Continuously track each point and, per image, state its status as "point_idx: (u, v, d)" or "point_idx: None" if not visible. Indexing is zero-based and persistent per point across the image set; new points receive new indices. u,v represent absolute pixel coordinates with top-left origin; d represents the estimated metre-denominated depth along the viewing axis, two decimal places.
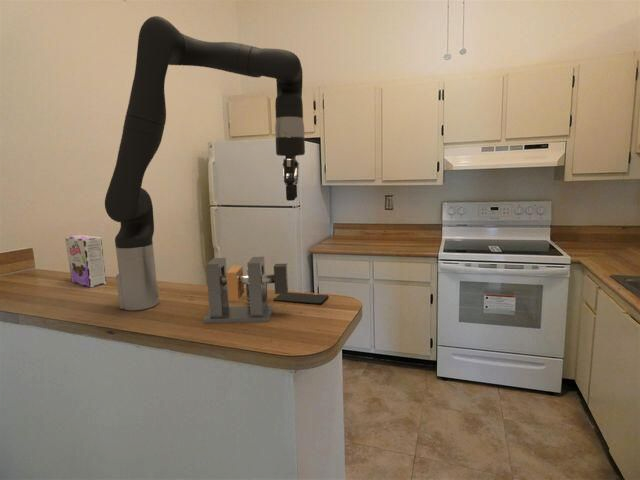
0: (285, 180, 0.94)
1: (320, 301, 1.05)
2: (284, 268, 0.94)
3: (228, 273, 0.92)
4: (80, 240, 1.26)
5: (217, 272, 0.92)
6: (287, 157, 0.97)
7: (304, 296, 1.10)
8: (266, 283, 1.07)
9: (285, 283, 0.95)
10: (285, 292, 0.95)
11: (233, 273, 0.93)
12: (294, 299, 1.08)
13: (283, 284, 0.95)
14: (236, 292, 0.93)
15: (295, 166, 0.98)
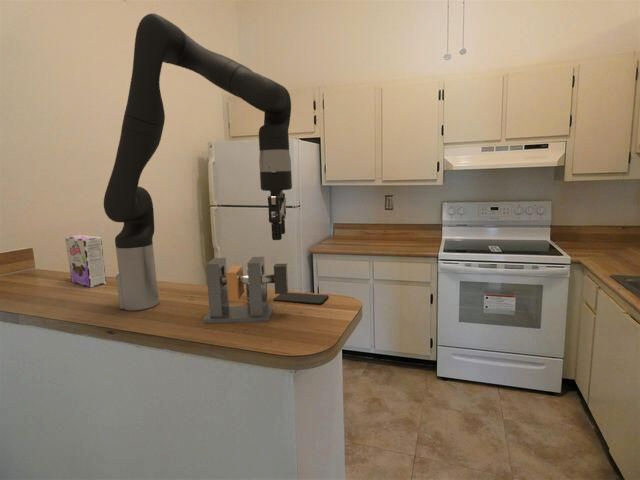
0: (270, 219, 0.87)
1: (320, 301, 1.05)
2: (284, 268, 0.94)
3: (228, 273, 0.92)
4: (80, 240, 1.26)
5: (217, 272, 0.92)
6: (272, 193, 0.89)
7: (304, 296, 1.10)
8: (266, 283, 1.07)
9: (285, 283, 0.95)
10: (285, 292, 0.95)
11: (233, 273, 0.93)
12: (294, 299, 1.08)
13: (283, 284, 0.95)
14: (236, 292, 0.93)
15: (281, 202, 0.91)
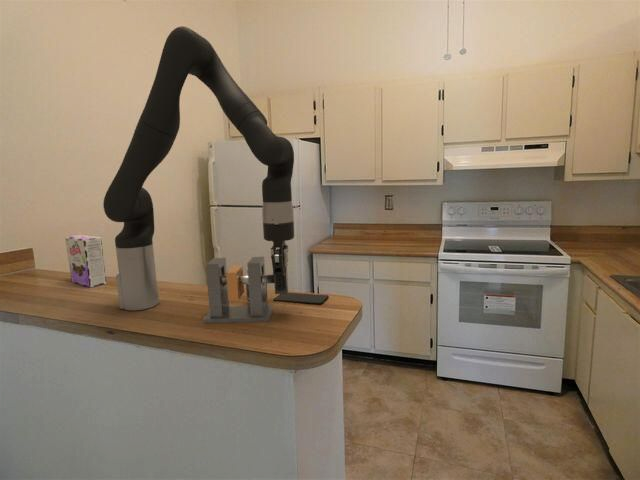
0: (274, 274, 0.91)
1: (320, 301, 1.05)
2: None
3: (228, 273, 0.92)
4: (80, 240, 1.26)
5: (217, 272, 0.92)
6: (275, 244, 0.91)
7: (304, 296, 1.10)
8: (266, 283, 1.07)
9: (285, 283, 0.95)
10: (285, 292, 0.95)
11: (233, 273, 0.93)
12: (294, 299, 1.08)
13: None
14: (236, 292, 0.93)
15: (284, 254, 0.93)
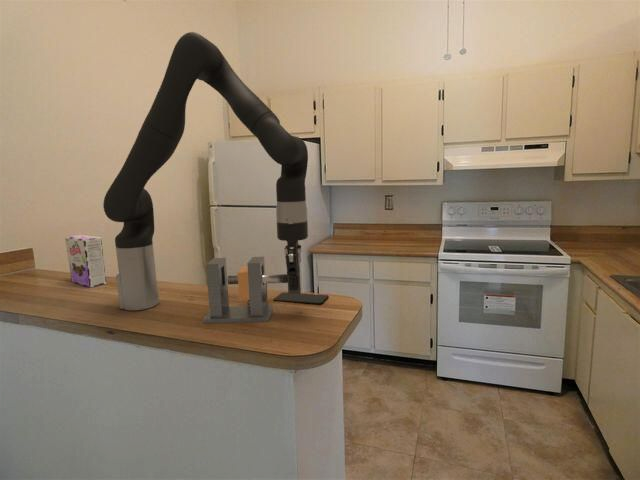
0: (288, 274, 0.91)
1: (320, 301, 1.05)
2: None
3: (239, 273, 0.92)
4: (80, 240, 1.26)
5: (217, 272, 0.92)
6: (289, 244, 0.91)
7: (304, 296, 1.10)
8: (266, 283, 1.07)
9: (298, 283, 0.95)
10: (298, 292, 0.95)
11: (244, 273, 0.92)
12: (294, 299, 1.08)
13: None
14: (247, 292, 0.93)
15: (298, 253, 0.93)
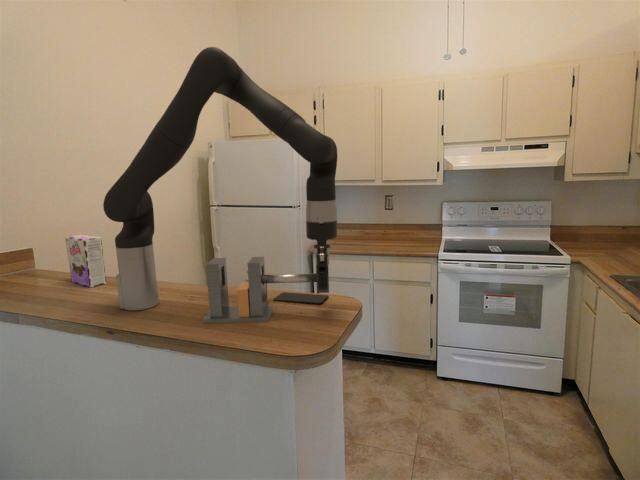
0: (318, 273, 0.91)
1: (320, 301, 1.05)
2: None
3: (239, 290, 0.93)
4: (80, 240, 1.26)
5: (217, 272, 0.92)
6: (319, 243, 0.91)
7: (304, 296, 1.10)
8: (266, 283, 1.07)
9: (327, 282, 0.95)
10: (327, 291, 0.95)
11: (244, 290, 0.93)
12: (294, 299, 1.08)
13: None
14: (247, 309, 0.94)
15: (327, 253, 0.93)
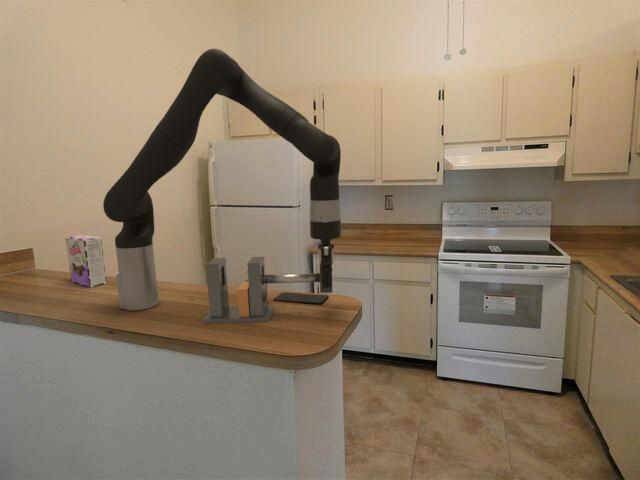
0: (322, 269, 0.88)
1: (320, 301, 1.05)
2: None
3: (239, 290, 0.93)
4: (80, 240, 1.26)
5: (217, 272, 0.92)
6: (323, 243, 0.91)
7: (304, 296, 1.10)
8: (266, 283, 1.07)
9: None
10: (330, 291, 0.95)
11: (244, 290, 0.93)
12: (294, 299, 1.08)
13: None
14: (247, 309, 0.94)
15: (331, 250, 0.92)
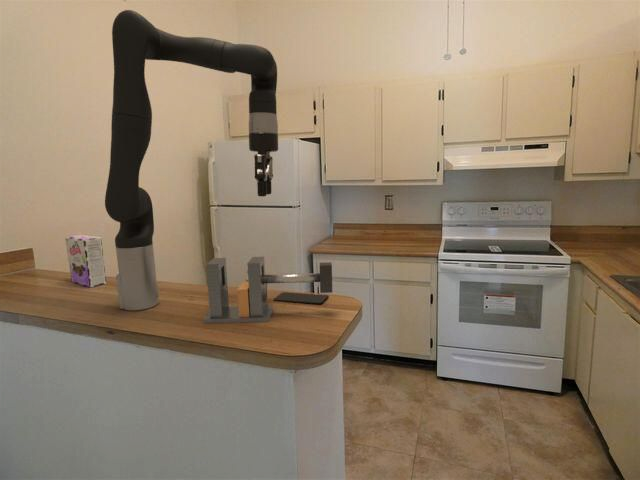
0: (256, 176, 0.95)
1: (320, 301, 1.05)
2: (330, 267, 0.94)
3: (239, 290, 0.93)
4: (80, 240, 1.26)
5: (217, 272, 0.92)
6: (259, 153, 0.97)
7: (304, 296, 1.10)
8: (266, 283, 1.07)
9: (331, 282, 0.95)
10: (330, 291, 0.95)
11: (244, 290, 0.93)
12: (294, 299, 1.08)
13: (328, 282, 0.95)
14: (247, 309, 0.94)
15: (267, 162, 0.99)
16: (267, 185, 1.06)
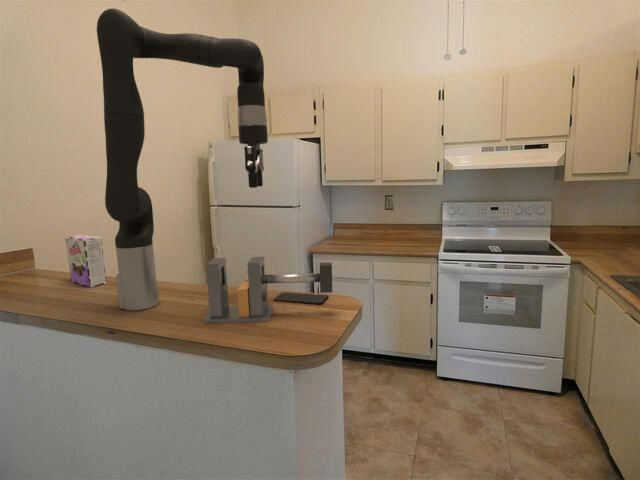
0: (246, 167, 0.96)
1: (320, 301, 1.05)
2: (330, 267, 0.94)
3: (239, 290, 0.93)
4: (80, 240, 1.26)
5: (217, 272, 0.92)
6: (249, 145, 0.99)
7: (304, 296, 1.10)
8: (266, 283, 1.07)
9: (331, 282, 0.95)
10: (330, 291, 0.95)
11: (244, 290, 0.93)
12: (294, 299, 1.08)
13: (328, 282, 0.95)
14: (247, 309, 0.94)
15: (257, 154, 1.00)
16: (258, 177, 1.08)
